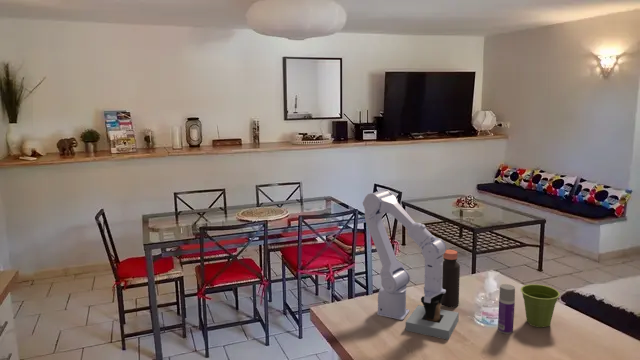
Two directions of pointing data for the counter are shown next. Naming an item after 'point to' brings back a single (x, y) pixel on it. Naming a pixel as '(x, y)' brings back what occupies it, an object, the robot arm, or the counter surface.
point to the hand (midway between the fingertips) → (432, 314)
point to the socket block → (432, 323)
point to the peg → (436, 314)
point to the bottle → (450, 279)
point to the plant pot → (539, 303)
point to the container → (506, 309)
